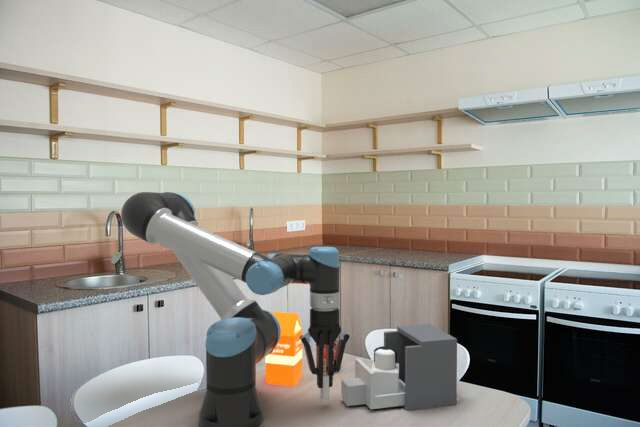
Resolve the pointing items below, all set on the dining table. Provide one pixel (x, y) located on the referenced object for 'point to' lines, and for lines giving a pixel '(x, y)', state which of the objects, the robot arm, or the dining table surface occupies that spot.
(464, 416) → the dining table surface
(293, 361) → the orange juice
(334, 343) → the soda can
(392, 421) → the dining table surface
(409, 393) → the housing
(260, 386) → the dining table surface
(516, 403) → the dining table surface
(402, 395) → the drawer
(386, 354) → the medicine bottle
